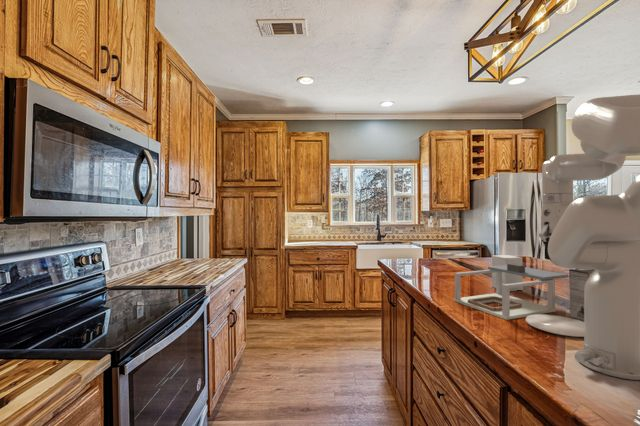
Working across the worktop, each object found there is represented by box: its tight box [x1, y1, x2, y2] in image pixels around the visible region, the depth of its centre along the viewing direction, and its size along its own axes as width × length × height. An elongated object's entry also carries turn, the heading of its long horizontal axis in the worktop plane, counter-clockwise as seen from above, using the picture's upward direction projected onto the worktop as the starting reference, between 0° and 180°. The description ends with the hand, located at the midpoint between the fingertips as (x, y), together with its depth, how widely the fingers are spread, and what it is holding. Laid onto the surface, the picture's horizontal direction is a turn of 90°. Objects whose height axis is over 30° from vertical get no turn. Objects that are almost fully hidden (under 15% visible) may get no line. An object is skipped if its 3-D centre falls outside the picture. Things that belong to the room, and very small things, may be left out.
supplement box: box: [491, 254, 524, 292], centre depth 142 cm, size 9×9×15 cm
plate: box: [525, 313, 584, 338], centre depth 95 cm, size 17×17×1 cm
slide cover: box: [487, 264, 569, 280], centre depth 120 cm, size 13×22×4 cm, turn 20°
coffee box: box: [568, 268, 595, 321], centre depth 103 cm, size 9×6×16 cm
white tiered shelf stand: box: [453, 269, 557, 321], centre depth 116 cm, size 24×23×11 cm
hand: (558, 258), depth 95 cm, fingers closed on onion, 5 cm apart
